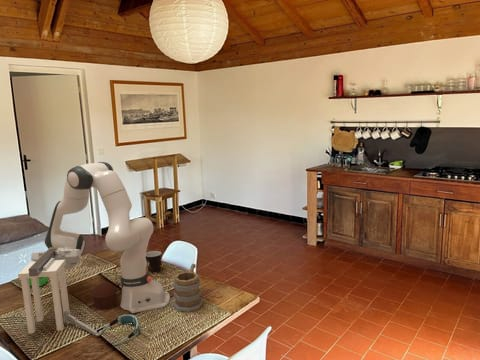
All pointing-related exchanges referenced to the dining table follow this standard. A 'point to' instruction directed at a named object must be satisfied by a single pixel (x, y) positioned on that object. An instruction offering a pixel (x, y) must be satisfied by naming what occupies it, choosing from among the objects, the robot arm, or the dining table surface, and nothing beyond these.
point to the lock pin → (42, 262)
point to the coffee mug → (153, 261)
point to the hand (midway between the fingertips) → (50, 252)
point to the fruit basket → (41, 281)
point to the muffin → (104, 295)
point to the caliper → (77, 323)
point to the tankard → (187, 291)
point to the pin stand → (48, 270)
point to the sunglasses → (125, 319)
